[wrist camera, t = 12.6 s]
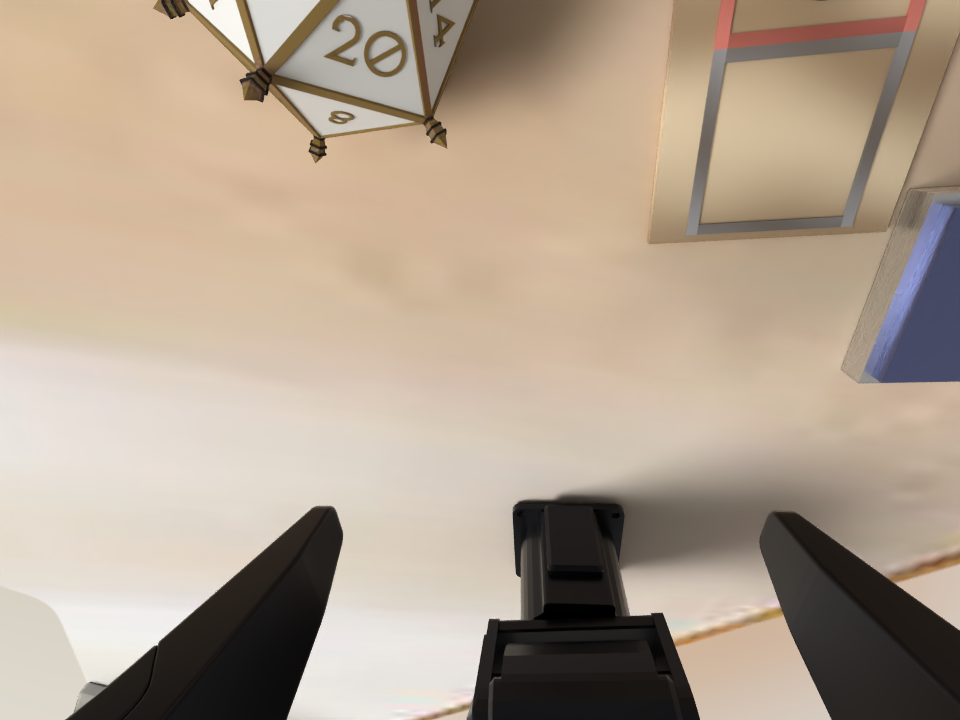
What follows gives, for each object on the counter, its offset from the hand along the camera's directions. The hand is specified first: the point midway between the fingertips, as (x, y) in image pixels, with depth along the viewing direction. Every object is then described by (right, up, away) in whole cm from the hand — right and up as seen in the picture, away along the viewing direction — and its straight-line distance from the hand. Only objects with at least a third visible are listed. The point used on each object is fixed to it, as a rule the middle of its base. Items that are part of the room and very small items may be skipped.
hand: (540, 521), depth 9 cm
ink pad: (+19, +7, +9) cm, 22 cm away
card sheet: (+10, +14, +6) cm, 18 cm away
